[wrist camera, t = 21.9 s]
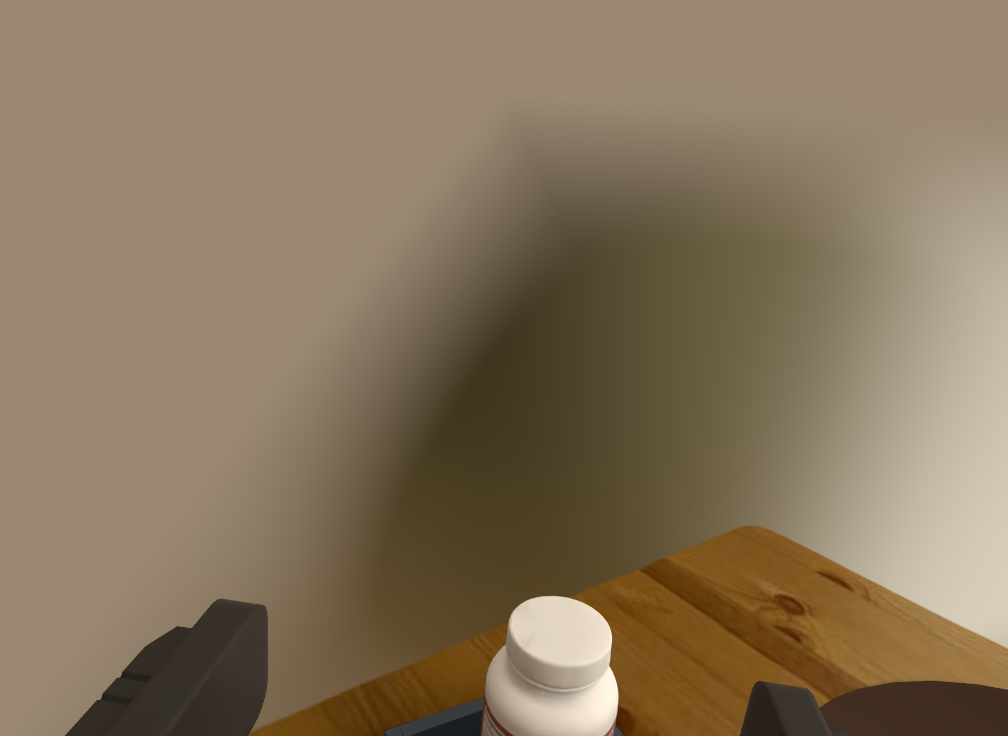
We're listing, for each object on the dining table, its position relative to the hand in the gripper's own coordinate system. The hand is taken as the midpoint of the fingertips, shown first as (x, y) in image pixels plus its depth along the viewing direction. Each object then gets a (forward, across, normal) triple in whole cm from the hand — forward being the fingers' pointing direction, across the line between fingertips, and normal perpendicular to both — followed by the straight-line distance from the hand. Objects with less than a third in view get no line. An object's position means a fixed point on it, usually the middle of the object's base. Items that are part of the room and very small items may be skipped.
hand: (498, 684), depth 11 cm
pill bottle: (+16, -2, +22) cm, 28 cm away
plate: (+16, -30, +23) cm, 41 cm away
